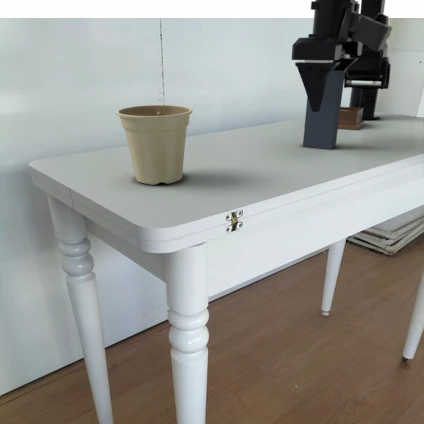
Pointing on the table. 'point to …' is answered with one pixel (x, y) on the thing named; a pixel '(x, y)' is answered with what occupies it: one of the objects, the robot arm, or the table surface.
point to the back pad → (325, 115)
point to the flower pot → (156, 141)
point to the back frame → (350, 118)
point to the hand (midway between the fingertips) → (323, 108)
